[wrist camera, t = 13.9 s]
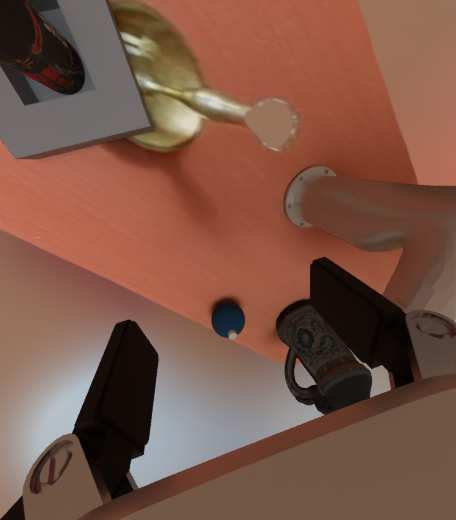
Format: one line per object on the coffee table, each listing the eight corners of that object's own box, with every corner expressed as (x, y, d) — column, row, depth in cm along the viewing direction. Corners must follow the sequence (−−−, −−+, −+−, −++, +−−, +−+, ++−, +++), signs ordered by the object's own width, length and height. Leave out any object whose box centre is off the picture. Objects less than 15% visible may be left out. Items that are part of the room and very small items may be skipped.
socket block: (86, -64, 21) (63, -115, 17) (154, 130, 30) (150, 125, 26) (-90, -35, 19) (-159, -84, 15) (37, 159, 28) (15, 159, 24)
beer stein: (331, 311, 61) (412, 394, 39) (288, 348, 65) (340, 440, 44) (303, 289, 53) (385, 376, 32) (257, 332, 58) (301, 434, 36)
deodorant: (19, 61, 23) (-186, -62, 10) (43, 16, 22) (-156, -187, 9) (70, 106, 26) (-42, 53, 13) (94, 68, 25) (-3, -31, 12)
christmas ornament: (202, 311, 49) (207, 343, 41) (224, 290, 48) (234, 319, 39) (225, 323, 53) (233, 355, 45) (245, 305, 52) (258, 334, 43)
